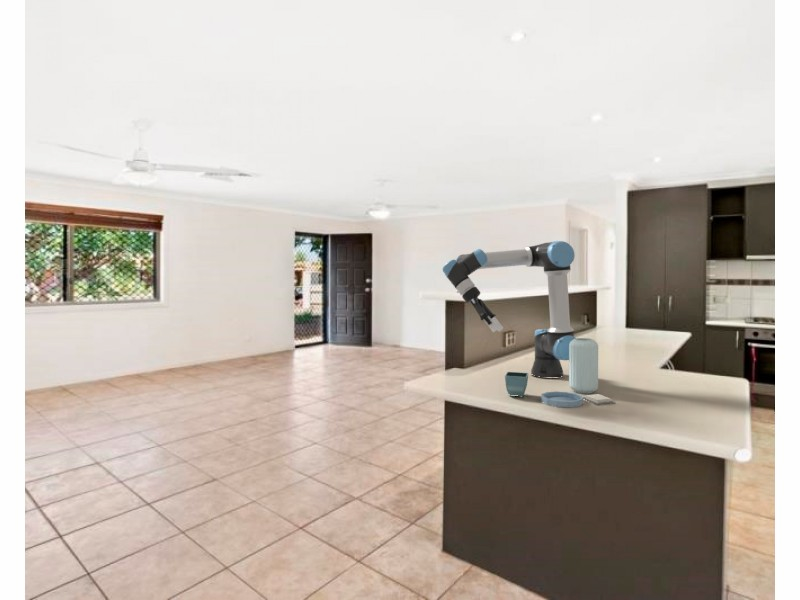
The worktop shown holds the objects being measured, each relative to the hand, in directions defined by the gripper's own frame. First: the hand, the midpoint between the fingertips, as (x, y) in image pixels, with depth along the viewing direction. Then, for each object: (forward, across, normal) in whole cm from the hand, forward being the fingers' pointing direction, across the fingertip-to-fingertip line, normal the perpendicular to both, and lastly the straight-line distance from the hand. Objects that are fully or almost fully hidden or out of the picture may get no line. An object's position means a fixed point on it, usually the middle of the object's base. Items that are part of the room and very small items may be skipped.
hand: (498, 330), depth 201 cm
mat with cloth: (+45, -1, +14) cm, 47 cm away
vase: (+41, -16, +11) cm, 45 cm away
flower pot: (+26, 0, -11) cm, 28 cm away
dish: (+37, +5, +3) cm, 38 cm away
